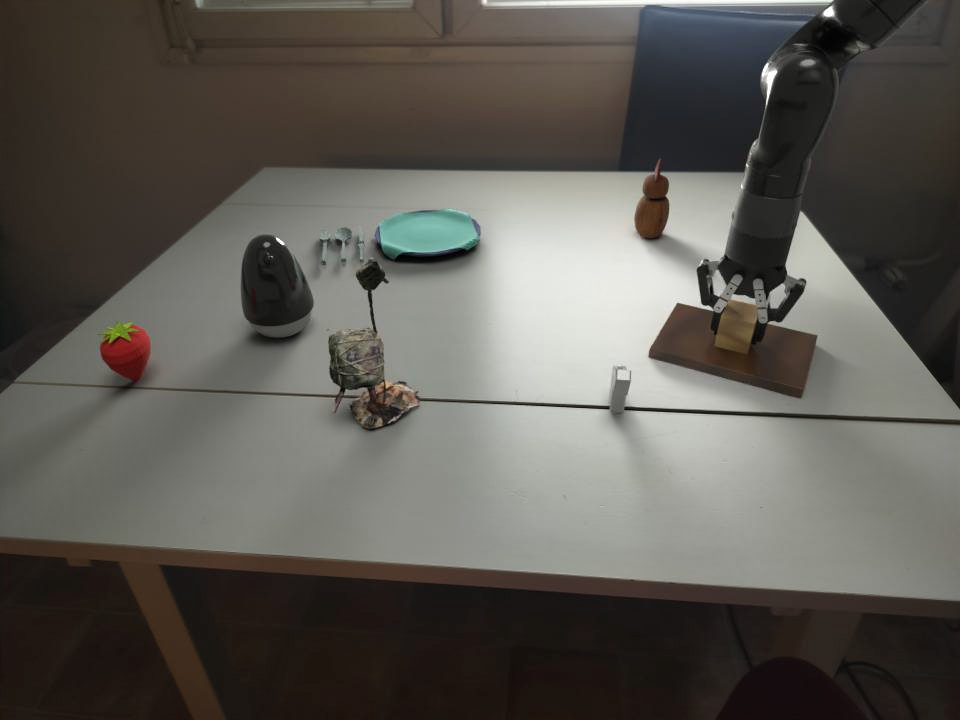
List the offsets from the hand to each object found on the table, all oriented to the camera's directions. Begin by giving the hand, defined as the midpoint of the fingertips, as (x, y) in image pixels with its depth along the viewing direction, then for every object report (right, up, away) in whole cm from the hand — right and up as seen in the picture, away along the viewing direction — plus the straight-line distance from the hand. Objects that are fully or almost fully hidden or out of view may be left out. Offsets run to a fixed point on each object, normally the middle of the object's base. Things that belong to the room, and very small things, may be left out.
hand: (735, 336), depth 93 cm
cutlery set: (-50, +19, +32) cm, 63 cm away
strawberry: (-82, -6, -1) cm, 83 cm away
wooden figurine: (-4, +20, +33) cm, 39 cm away
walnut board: (0, -2, +1) cm, 2 cm away
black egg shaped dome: (-65, +1, +8) cm, 66 cm away
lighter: (-18, -10, -9) cm, 22 cm away
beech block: (0, -1, 0) cm, 1 cm away
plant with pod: (-49, -10, -8) cm, 50 cm away
